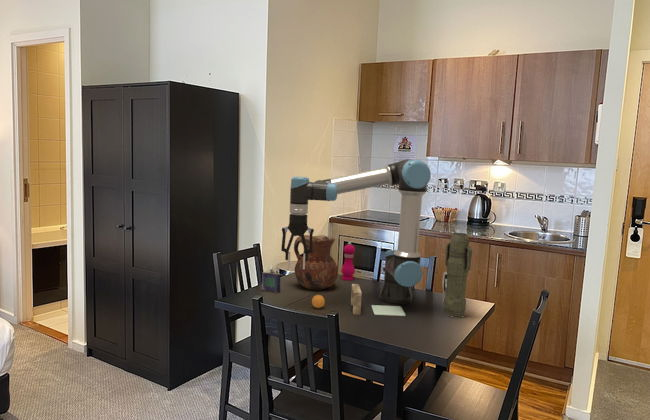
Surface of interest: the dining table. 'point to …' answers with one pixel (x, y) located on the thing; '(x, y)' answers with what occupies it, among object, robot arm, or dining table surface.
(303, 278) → the jug
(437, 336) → the dining table surface
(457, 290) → the olive brown statue
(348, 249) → the pepper mill
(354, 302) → the bridge
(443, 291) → the beer glass
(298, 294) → the dining table surface
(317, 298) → the ball
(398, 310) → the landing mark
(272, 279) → the flask
